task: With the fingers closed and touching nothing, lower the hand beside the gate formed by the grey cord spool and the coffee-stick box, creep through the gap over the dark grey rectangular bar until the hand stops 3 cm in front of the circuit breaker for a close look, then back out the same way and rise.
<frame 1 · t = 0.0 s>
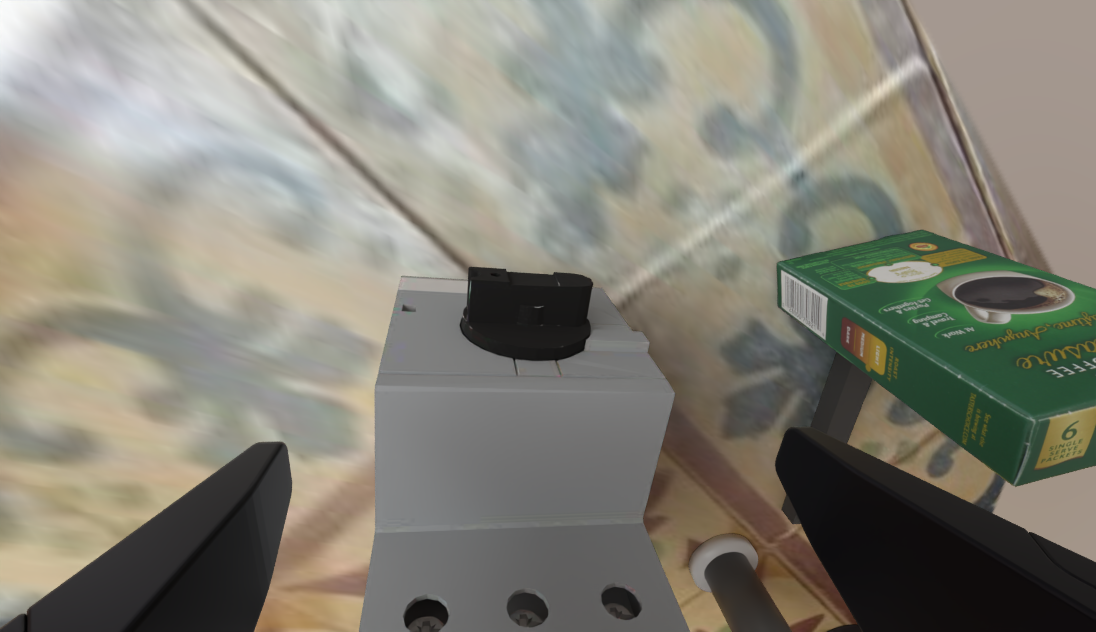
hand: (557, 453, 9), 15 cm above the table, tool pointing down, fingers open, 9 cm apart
circuit breaker: (486, 357, 25), on the table
coffee box: (841, 267, 26), on the table
cord spool: (720, 558, 34), on the table
dark grey rectangular bar: (816, 428, 31), on the table
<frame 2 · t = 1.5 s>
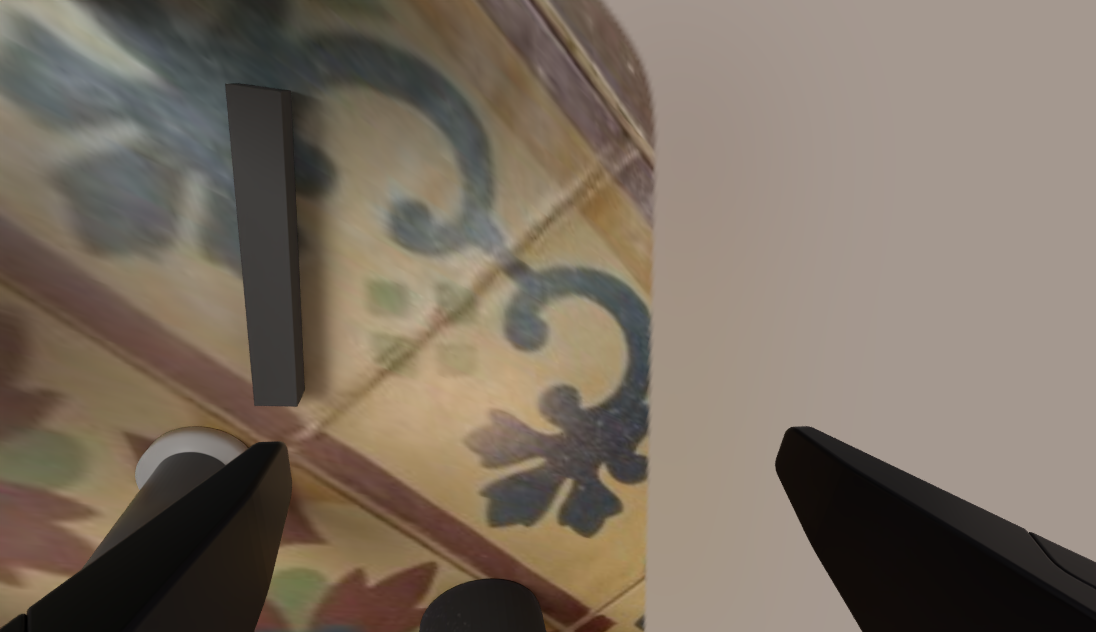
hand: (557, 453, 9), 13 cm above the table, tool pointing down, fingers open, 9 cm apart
cord spool: (202, 467, 23), on the table
dark grey rectangular bar: (278, 253, 20), on the table
travel mug: (481, 617, 31), on the table
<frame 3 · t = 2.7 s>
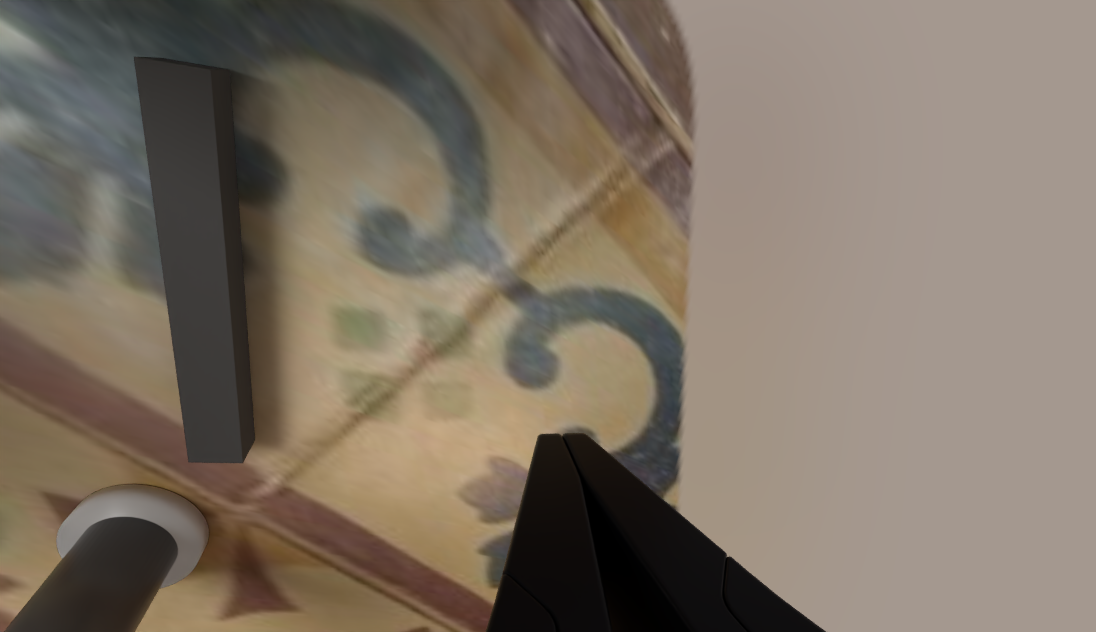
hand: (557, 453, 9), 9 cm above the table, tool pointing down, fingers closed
cord spool: (142, 530, 19), on the table
dark grey rectangular bar: (219, 275, 16), on the table
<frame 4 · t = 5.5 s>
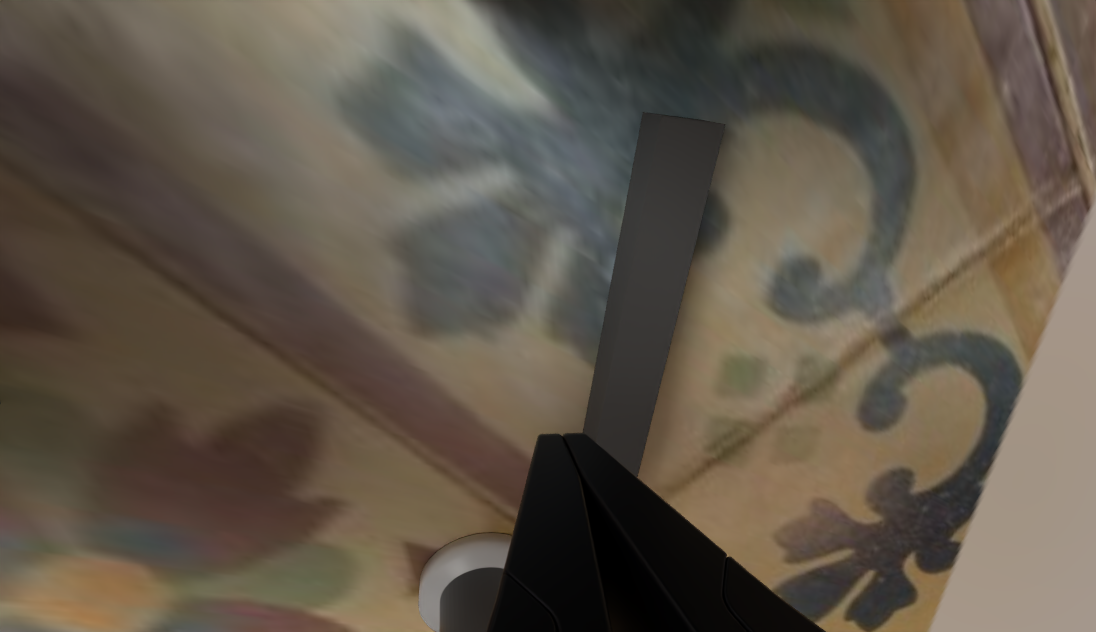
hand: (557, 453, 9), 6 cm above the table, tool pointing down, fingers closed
cord spool: (482, 578, 19), on the table
dark grey rectangular bar: (624, 324, 16), on the table
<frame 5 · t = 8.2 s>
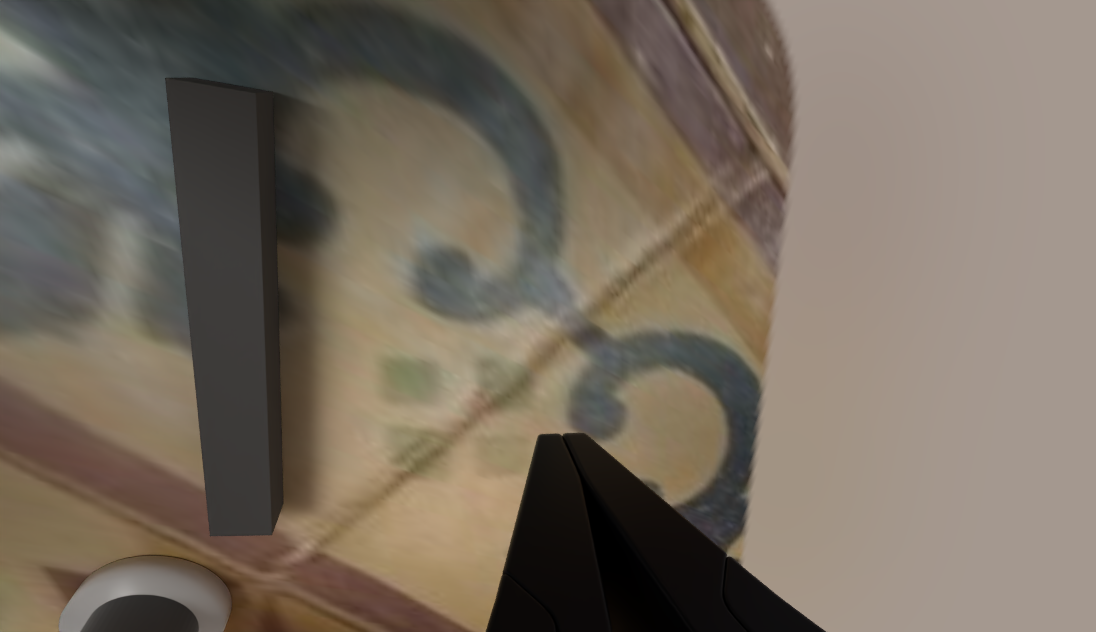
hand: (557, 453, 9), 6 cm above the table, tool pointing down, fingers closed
cord spool: (156, 605, 17), on the table
dark grey rectangular bar: (250, 323, 14), on the table
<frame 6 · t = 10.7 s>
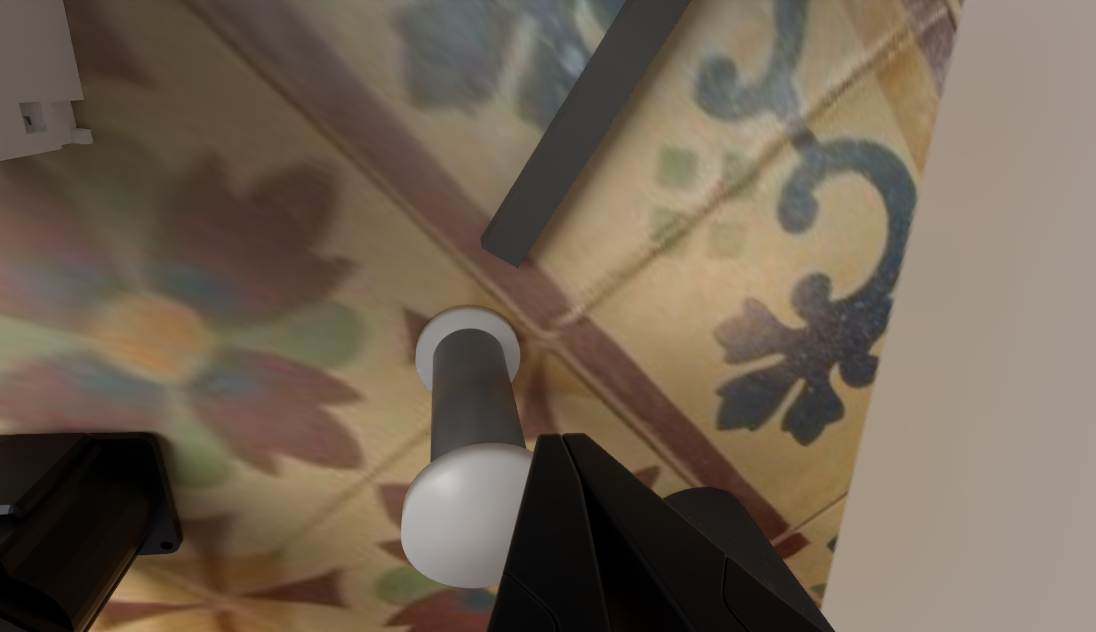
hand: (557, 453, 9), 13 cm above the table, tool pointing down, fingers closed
cord spool: (468, 351, 23), on the table
dark grey rectangular bar: (578, 114, 20), on the table
travel mug: (686, 531, 30), on the table
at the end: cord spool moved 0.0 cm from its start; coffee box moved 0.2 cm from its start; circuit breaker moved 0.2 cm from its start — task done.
